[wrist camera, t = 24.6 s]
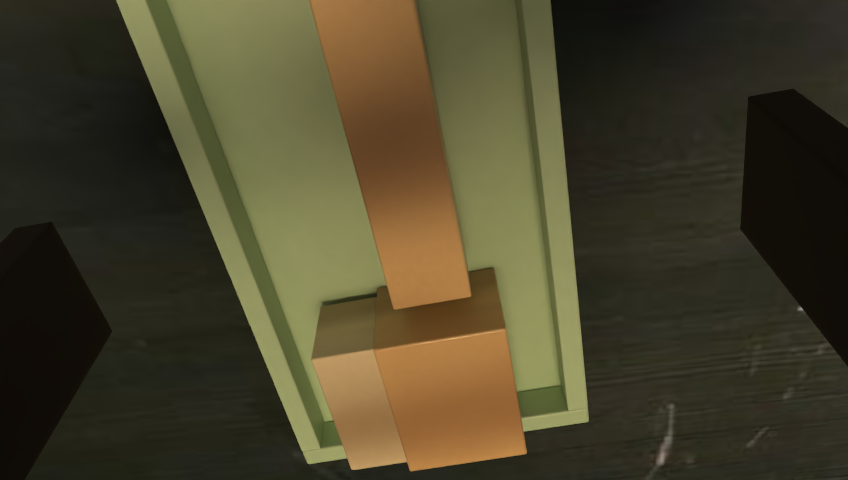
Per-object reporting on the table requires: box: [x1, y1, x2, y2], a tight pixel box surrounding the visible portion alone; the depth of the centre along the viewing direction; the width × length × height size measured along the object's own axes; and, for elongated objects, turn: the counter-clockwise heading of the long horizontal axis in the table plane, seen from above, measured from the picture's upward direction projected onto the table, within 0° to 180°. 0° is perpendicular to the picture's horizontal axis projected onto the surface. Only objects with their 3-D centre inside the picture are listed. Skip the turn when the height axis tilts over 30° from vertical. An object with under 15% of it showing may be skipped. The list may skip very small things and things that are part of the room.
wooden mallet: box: [309, 0, 527, 471], centre depth 22 cm, size 19×7×4 cm, turn 11°
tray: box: [116, 0, 589, 464], centre depth 23 cm, size 23×12×2 cm, turn 11°
